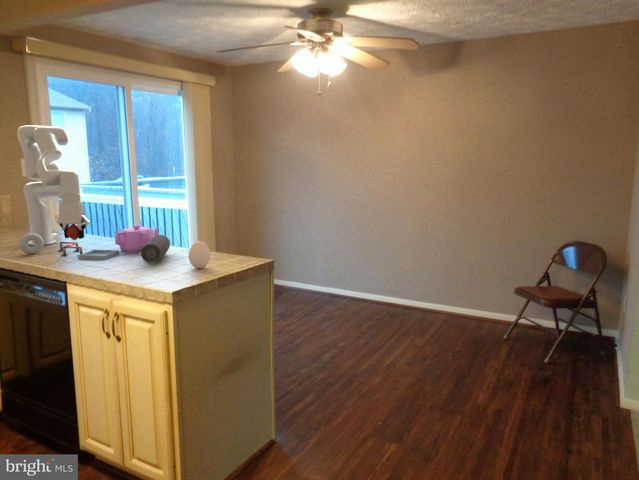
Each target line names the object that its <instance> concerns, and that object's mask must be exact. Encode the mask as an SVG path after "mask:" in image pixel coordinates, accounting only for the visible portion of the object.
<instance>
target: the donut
mask: <svg viewBox="0 0 639 480" xmlns="http://www.w3.org/2000/svg"><path fill="white" fill-rule="evenodd" d="M31 240H34V241H35V245H32V246H30V245H29V244H28V242H29V241H31ZM43 243H44V242H43V239H42V237H41V236H40V235H38V234H36V233H30V232H29V233H26V234H24V235H22V236H21V237H20V238H19V243H18V246H19V248H20V250H21V251H22V252H23V253H25V254H28V255H35V254H37V253H39V252H41V250H42V249H43V247H44V245H43Z"/></svg>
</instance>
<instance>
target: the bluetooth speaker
mask: <svg viewBox="0 0 639 480" xmlns="http://www.w3.org/2000/svg"><path fill="white" fill-rule="evenodd" d="M170 246H171V241H170V239H169V237H167V236H166V235H165V234H157V236H154V237H153V238H151V239H150V240H149V241H148V242H147V243H146V244H145V245H144V246H143V247H142V250H141V252H140V257H141V258H142V260H143V261H144V262H145V263H149V264H153V263H159V262H160V261H161V260H162V259H163V257H164V256H165V255H166V254H167V252H168V251H169V249H170ZM161 258H162V259H161ZM158 261H159V262H158Z"/></svg>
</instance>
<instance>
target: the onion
mask: <svg viewBox="0 0 639 480" xmlns="http://www.w3.org/2000/svg"><path fill="white" fill-rule="evenodd" d="M78 230H79V228H78V226H77V224H70V225H69V227H68V229H67V235H68V237H70V239H71V240H73V241H77V240H78V239H79V236H78Z"/></svg>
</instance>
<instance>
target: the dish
mask: <svg viewBox="0 0 639 480" xmlns="http://www.w3.org/2000/svg"><path fill="white" fill-rule="evenodd" d="M119 254H120V251H119V249H91V250H89V251H85V252H83V254H80V253H79V254H77V258H78V260H86V259H88V260H93V261H106V260H108V259H110V258H113V257H115V256H118V255H119ZM88 260H87V261H88Z"/></svg>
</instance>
